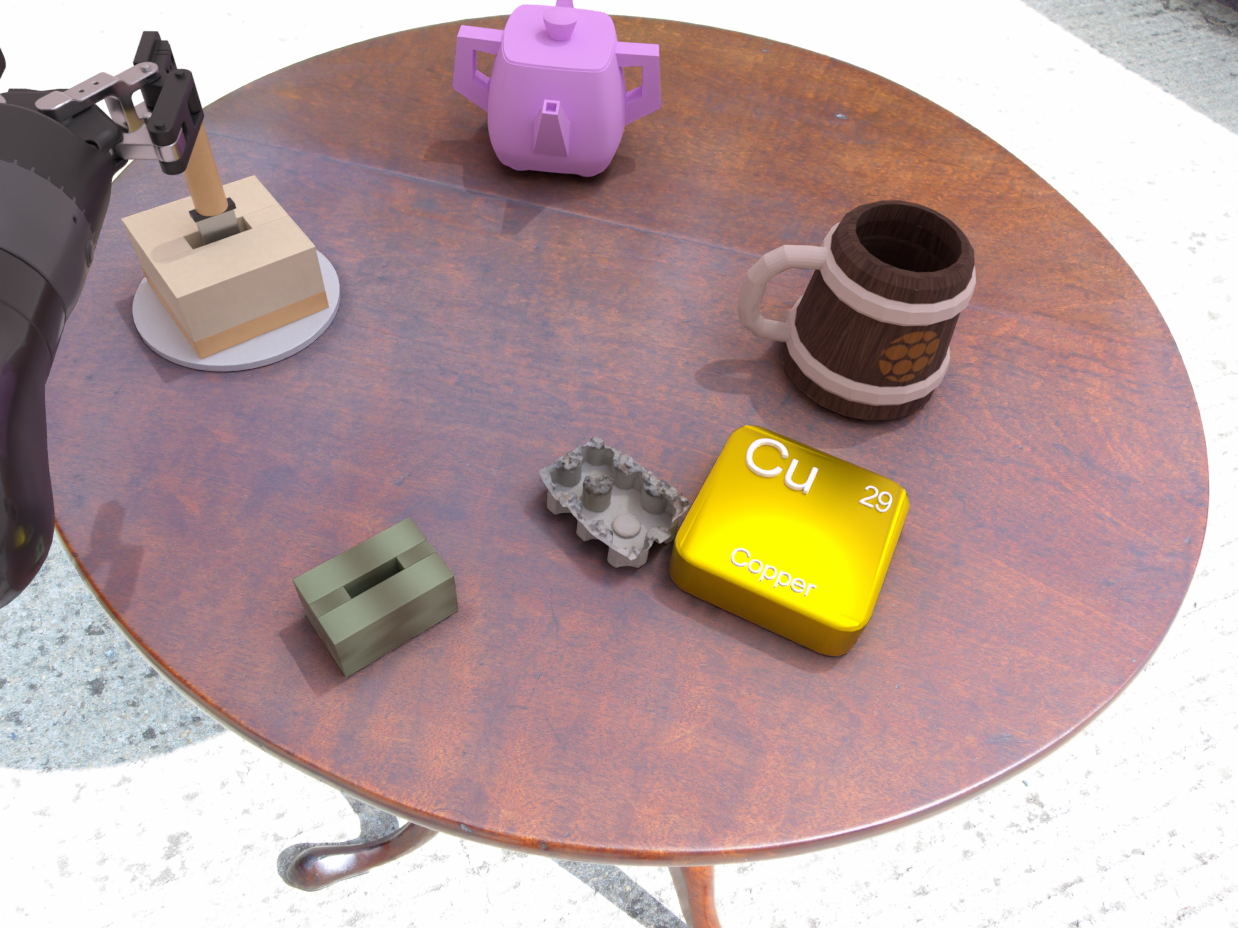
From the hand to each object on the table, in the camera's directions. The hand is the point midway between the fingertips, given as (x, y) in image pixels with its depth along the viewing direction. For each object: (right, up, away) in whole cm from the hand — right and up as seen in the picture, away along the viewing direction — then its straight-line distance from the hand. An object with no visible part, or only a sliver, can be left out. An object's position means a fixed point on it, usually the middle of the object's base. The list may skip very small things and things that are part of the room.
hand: (75, 46), depth 51 cm
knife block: (+13, -34, +15) cm, 40 cm away
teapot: (+23, +12, +53) cm, 59 cm away
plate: (-5, -8, +34) cm, 35 cm away
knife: (-4, -6, +31) cm, 32 cm away
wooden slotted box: (-5, -8, +34) cm, 35 cm away
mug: (+50, -14, +35) cm, 63 cm away
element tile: (+43, -30, +22) cm, 57 cm away
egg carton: (+29, -27, +22) cm, 46 cm away
